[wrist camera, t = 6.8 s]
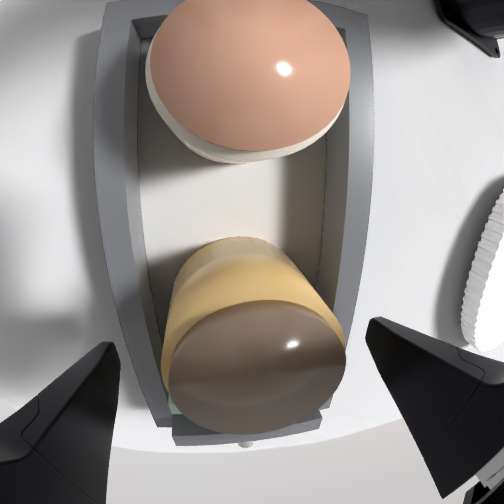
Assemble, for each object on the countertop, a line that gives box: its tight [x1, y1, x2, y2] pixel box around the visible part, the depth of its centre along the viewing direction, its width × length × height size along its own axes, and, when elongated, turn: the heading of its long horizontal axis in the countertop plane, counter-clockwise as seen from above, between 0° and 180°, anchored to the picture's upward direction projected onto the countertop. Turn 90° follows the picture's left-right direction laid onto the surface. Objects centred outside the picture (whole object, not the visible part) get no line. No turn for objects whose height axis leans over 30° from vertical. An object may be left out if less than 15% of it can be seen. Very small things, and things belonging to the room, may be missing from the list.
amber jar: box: [161, 237, 346, 435], centre depth 9 cm, size 6×6×5 cm
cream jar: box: [145, 0, 350, 164], centre depth 7 cm, size 5×5×4 cm
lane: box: [93, 0, 374, 446], centre depth 9 cm, size 9×18×3 cm, turn 0°
